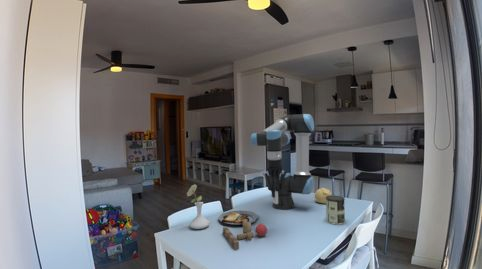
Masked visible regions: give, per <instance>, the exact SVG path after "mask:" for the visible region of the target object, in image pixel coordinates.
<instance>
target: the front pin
mask: <svg viewBox="0 0 482 269" xmlns="http://www.w3.org/2000/svg"><path fill="white" fill-rule="evenodd" d="M254 237H255V233H254V232H253V231H251V238H254ZM236 239H237V240H238V241H239V240H244V239H246V240H247V233H245V234H243V233H240V234H236Z"/></svg>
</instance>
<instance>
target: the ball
mask: <svg viewBox="0 0 482 269" xmlns="http://www.w3.org/2000/svg"><path fill="white" fill-rule="evenodd" d="M254 229H255V230H254V231H255V234H256V235H257V236H259V237H264V236H266V234H267V232H268V229H267V226H266V225H265V224H264V223H258V224H257V225H256V227H255V228H254Z"/></svg>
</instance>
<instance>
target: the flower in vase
mask: <svg viewBox="0 0 482 269" xmlns="http://www.w3.org/2000/svg"><path fill="white" fill-rule="evenodd" d="M196 190H197V184H192V185H191V186H190V188H189V189H188V191H187V192H186V197H190V196H192V195H194V197H195V198H193V199H191V201H190V204H192V203H194V205H195V207H196V216H195V217H194V218H193V219H192V220H191V221H190V223H189V227H190V228H191V229H196V230H201V229H205V228H207V227H208V226H210V224H211V223H210V221H209V220H208V219H206V218H205V217H204V216H203V215H202V206H203V204H204V202H203V201H201V200H202V198H203V196H202V195H199V196H198V197H197V196H196V193H195V191H196Z"/></svg>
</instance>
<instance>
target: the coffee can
mask: <svg viewBox="0 0 482 269" xmlns="http://www.w3.org/2000/svg"><path fill="white" fill-rule="evenodd" d="M345 199H346V198H345V197H344V196H341V195H336V194H335V195H333V194H332V195H331V196H326V204H325V205H326V209H325V211H326V212H325V214H326V220H325V221H326V222H327V223H329V224H332V225H343V224H345V223H346V221H345V220H346V218H345V215H346V214H345V212H346V211H345V209H346V208H345Z"/></svg>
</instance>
